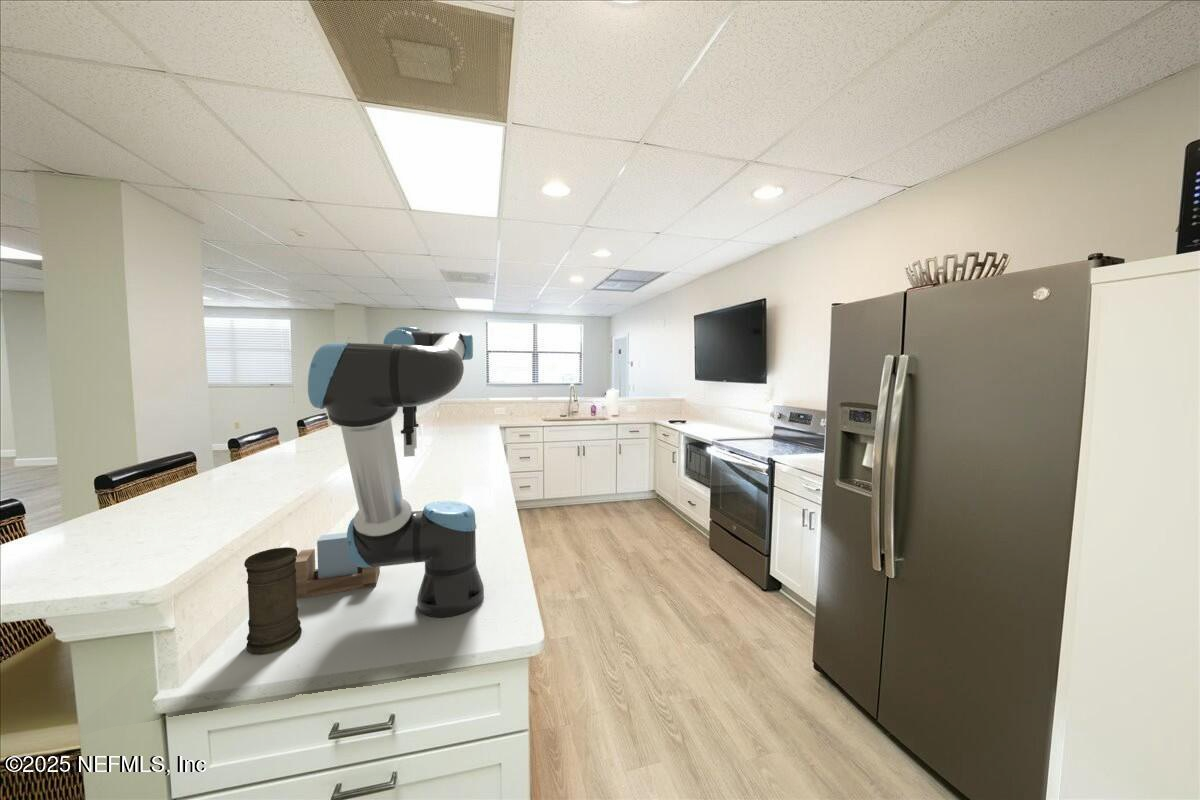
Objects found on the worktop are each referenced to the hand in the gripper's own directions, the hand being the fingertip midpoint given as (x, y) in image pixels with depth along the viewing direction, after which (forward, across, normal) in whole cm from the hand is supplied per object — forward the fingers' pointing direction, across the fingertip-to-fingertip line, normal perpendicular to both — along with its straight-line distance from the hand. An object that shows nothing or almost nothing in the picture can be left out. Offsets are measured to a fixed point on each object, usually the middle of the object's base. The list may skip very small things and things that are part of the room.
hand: (410, 452), depth 123 cm
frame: (+32, -12, +17) cm, 38 cm away
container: (+32, -34, +24) cm, 52 cm away
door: (+31, -12, +17) cm, 37 cm away
